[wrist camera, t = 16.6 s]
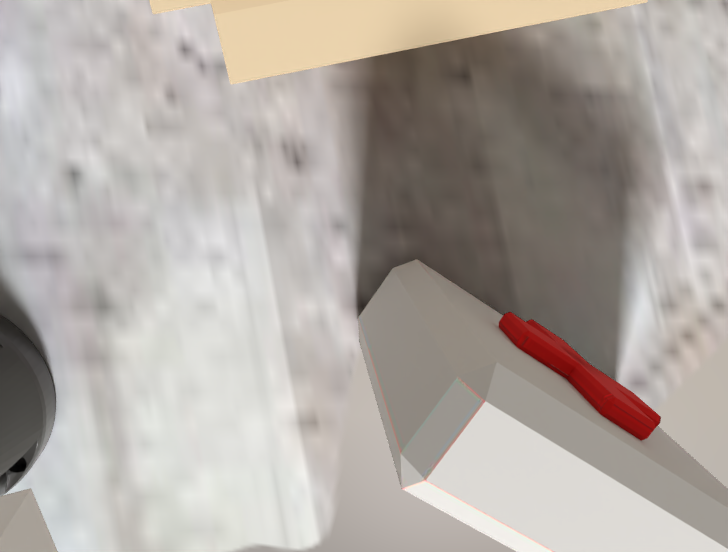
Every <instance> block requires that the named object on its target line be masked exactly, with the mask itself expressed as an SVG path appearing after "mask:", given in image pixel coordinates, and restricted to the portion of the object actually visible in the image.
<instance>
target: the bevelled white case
mask: <svg viewBox="0 0 728 552" xmlns="http://www.w3.org/2000/svg"><path fill="white" fill-rule="evenodd" d="M358 325H359V342H360V346H361V349H362V353H363V356H364V360H365V363H366V366H367V370H368V373H369V377H370V380H371V384H372V387H373V391H374V394H375V398H376V401H377V405H378V408H379V412H380V415H381V419H382V422H383V425H384V429H385V433H386V436H387V440H388V443H389V447H390V450H391V453H392V457H393V461H394V464H395V467H396V470H397V474H398V478H399V481H400V485H401V488H402V489H403V490H405V491H407V492H409V493H410V494H412V495H414V496H416V497H418V498H420V499H421V500H423V501H425V502H427V503H429V504H431V505H432V506H434V507H436V508H438V509H440V510H441V511H443V512H445V513H447V514H449V515H451V516H453V517H454V518H456V519H458V520H460V521H462V522H464V523H466V524H467V525H469V526H471V527H473V528H474V529H476V530H478V531H480V532H482V533H484V534H486V535H487V536H489V537H491V538H493V539H495V540H497V541H498V542H500V543H502V544H504V545H506V546H507V547H509V548H511V549H513V550H515V551H517V552H728V489H727V488H726V487H725V486H724V485H723V484H722V483H721V482H720V481H718V480H717V479H716V478H715V477H714V476H713V475H712V474H711V473H710V472H708V471H707V470H706V469H705V468H704V467H703V466H702V465H700V463H699V462H697V461H696V460H695V459H694V458H693V457H692V456H691V455H690V454H689V453H687V452H686V451H685V450H684V449H683V448H682V447H681V446H680V445H679V444H677V443H676V442H675V441H674V440H673V439H672V438H671V437H670V436H669V435H667V434H666V433H665V432H664V431H663V430H662V429H661V428H660V427H659V426H658V425H659V423H660V419H661V417H660V416H659V415H658V414H657V413H656V412H655V411H653V410H652V409H651V408H650V407H649V406H648V405H646V404H645V403H644V402H643V401H642V400H641V399H640V398H638V397H637V396H636V395H635V394H634V393H633V392H631V391H630V390H628V389H627V388H625V387H623V386H622V385H620V384H619V383H617V382H616V381H614V380H613V379H611V378H610V377H608V376H607V375H605V374H604V373H602V372H601V371H599V370H598V369H596V368H595V367H593V366H592V365H590V364H589V363H588V362H587V361H586V360H585V359H583V358H582V357H581V356H580V355H579V354H578V353H577V352H576V351H575V350H574V349H572V348H571V347H570V346H569V345H568V344H567V343H566V342H565V341H564V340H562V339H561V338H559V337H558V336H556V335H555V334H553V333H552V332H550V331H549V330H547V329H546V328H544V327H543V326H541V325H540V324H538V323H537V322H535V321H534V320H532V319H531V320H529V321H527V322H525V321H523V320H522V319H520V318H519V317H517V316H516V315H514V314H513V313H511V312H509V313H506V314H504V316H503V315H501V314H500V313H498V312H497V311H495V310H494V309H492V308H491V307H489V306H488V305H486V304H485V303H483V302H482V301H480V300H478V299H477V298H475V297H474V296H472V295H471V294H469V293H468V292H466V291H465V290H463V289H462V288H460V287H459V286H457V285H456V284H454V283H453V282H451V281H449V280H448V279H446V278H445V277H443V276H442V275H440V274H439V273H437V272H436V271H434V270H433V269H431V268H430V267H428V266H427V265H425V264H424V263H422V262H420V261H419V260H417V259H416V260H413V261H411V262H408V263H405V264H402V265H400V266H397V267H394V268H392V270H391V271H390V273H389V274H388V276H387V277H386V278H385V280H384V281H383V283H382V284H381V286H380V287H379V288H378V290H377V291H376V293H375V294H374V296H373V297H372V298H371V300H370V301H369V303H368V304H367V306H366V307H365V309H364V310H363V311H362V313H361V314H360V316H359V317H358Z"/></svg>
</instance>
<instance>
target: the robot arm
mask: <svg viewBox="0 0 728 552" xmlns="http://www.w3.org/2000/svg"><path fill="white" fill-rule="evenodd" d="M55 412H56V401H55V392H54V386H53V382H52V379H51V376H50V373H49V371H48V368H47V366H46V364H45V362H44V360H43V358H42V357H41V355H40V353H39V352H38V350H37V349H36V347H35V346H34V345H33V344H32V342H31V341H30V340H29V339H28V338H27V337H26V336H25V334H24V333H23V332H22V331H20V330H19V329H18V328H17V327H16V326H15V325H14V324H12V323H11V322H10V321H9V320H7V319H6V318H4V317H3V316H2V315H0V552H58V551H57V549H56V547H55V544H54V542H53V540H52V537H51V535H50V532H49V530H48V528H47V525H46V523H45V521H44V518H43V516H42V513H41V511H40V509H39V506H38V504H37V502H36V499H35V497H34V494H33V492H32V490H31V488H30V489H26V490H23V491H19V492H15V493H11V494H7V495H4V494H5V493H7V492H8V491H9V490H11V489H12V488H13V487H14V486H15V485H16V484H17V483H18V482H19V481H20V480H21V479H22V478H23V477H24V476H25V475H26V474H27V473H28V471H29V470H30V469H31V467H32V466H33V464H34V463H35V461H36V460H37V459H38V457H39V456H40V454H41V453H42V451H43V449H44V448H45V446H46V444H47V442H48V440H49V438H50V435H51V432H52V429H53V425H54V420H55Z"/></svg>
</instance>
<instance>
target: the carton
mask: <svg viewBox="0 0 728 552" xmlns="http://www.w3.org/2000/svg"><path fill="white" fill-rule="evenodd" d="M149 1H150V5H151V9H152V13H153V14H158V13H163V12H168V11H173V10H179V9H184V8H189V7H194V6H200V5H205V4H210V3H211V5H212V9H213V13H214V17H215V21H216V26H217V30H218V34H219V38H220V42H221V46H222V51H223V55H224V59H225V63H226V67H227V71H228V76H229V80H230V84H236V83H241V82H246V81H251V80H256V79H261V78H266V77H271V76H276V75H281V74H287V73H292V72H297V71H302V70H307V69H312V68H317V67H322V66H327V65H332V64H337V63H342V62H347V61H352V60H357V59H363V58H368V57H373V56H378V55H383V54H388V53H393V52H398V51H403V50H408V49H413V48H418V47H423V46H428V45H433V44H438V43H444V42H449V41H454V40H459V39H464V38H469V37H474V36H479V35H484V34H489V33H494V32H499V31H504V30H509V29H514V28H519V27H525V26H530V25H535V24H540V23H545V22H550V21H555V20H560V19H565V18H570V17H575V16H580V15H585V14H590V13H595V12H601V11H606V10H611V9H616V8H621V7H626V6H631V5H636V4H641V3H646V2H647V0H149Z"/></svg>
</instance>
